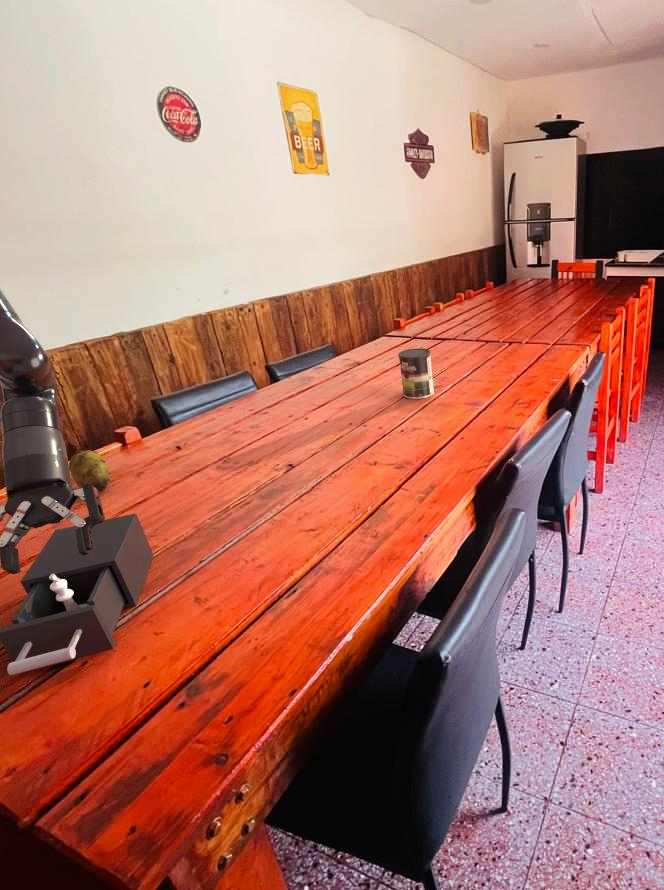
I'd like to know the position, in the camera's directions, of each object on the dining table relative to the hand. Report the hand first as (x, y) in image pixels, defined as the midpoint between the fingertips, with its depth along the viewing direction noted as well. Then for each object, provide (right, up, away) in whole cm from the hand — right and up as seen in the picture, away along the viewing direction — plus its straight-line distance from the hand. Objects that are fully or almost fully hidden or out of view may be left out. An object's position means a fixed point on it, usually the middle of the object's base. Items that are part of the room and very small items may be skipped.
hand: (49, 563), depth 74 cm
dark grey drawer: (+1, -13, +3) cm, 13 cm away
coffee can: (+42, +35, +96) cm, 110 cm away
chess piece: (0, -10, +5) cm, 11 cm away
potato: (-31, +8, +50) cm, 59 cm away
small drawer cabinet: (-3, -8, +15) cm, 17 cm away
